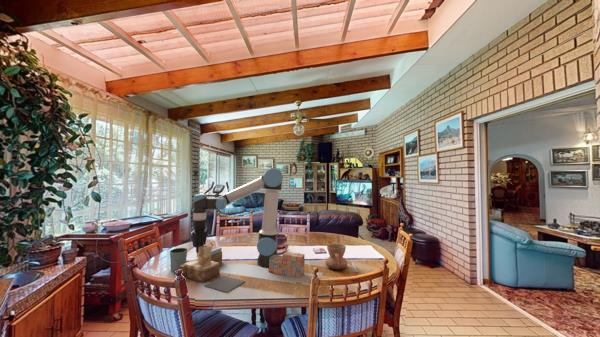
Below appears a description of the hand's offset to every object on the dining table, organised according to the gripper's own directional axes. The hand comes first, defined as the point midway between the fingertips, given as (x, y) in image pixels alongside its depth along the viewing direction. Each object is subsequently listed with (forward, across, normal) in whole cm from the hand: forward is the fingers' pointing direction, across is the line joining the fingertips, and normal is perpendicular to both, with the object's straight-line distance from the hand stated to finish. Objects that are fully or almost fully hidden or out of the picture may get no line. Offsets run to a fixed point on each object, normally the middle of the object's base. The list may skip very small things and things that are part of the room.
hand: (199, 257), depth 151 cm
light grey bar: (+1, -9, 0) cm, 9 cm away
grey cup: (+9, +3, -15) cm, 18 cm away
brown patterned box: (+9, -22, +49) cm, 55 cm away
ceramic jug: (+9, -45, +74) cm, 87 cm away
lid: (+4, +4, +6) cm, 8 cm away
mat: (+9, +6, +27) cm, 29 cm away
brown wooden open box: (+9, -3, +6) cm, 11 cm away
